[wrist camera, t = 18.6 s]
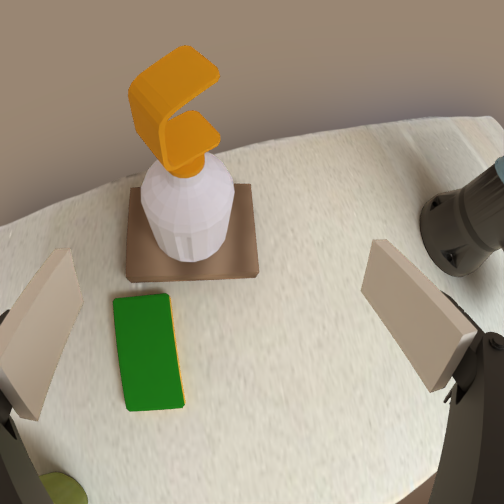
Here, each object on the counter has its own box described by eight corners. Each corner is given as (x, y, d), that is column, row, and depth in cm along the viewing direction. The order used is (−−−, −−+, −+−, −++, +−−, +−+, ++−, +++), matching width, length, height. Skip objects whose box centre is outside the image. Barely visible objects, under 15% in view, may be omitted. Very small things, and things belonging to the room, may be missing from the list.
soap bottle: (241, 234, 39) (292, 80, 16) (181, 278, 36) (147, 150, 13) (199, 183, 40) (204, 16, 17) (140, 221, 38) (83, 64, 15)
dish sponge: (170, 296, 39) (168, 292, 37) (186, 404, 35) (185, 407, 33) (117, 301, 38) (112, 298, 35) (131, 408, 34) (126, 411, 31)
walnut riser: (247, 194, 44) (250, 183, 41) (255, 277, 41) (259, 271, 38) (134, 198, 42) (130, 187, 39) (131, 282, 38) (125, 277, 35)
